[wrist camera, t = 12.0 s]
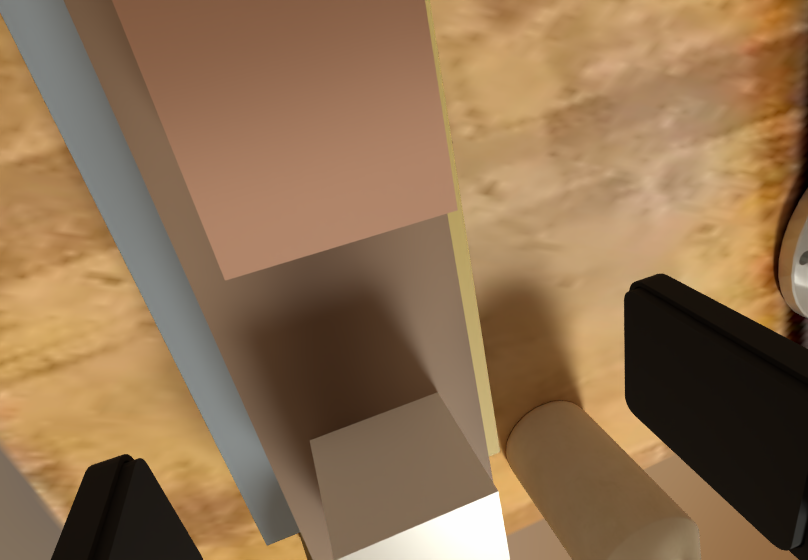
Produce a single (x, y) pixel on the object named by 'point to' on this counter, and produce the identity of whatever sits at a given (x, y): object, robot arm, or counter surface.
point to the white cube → (408, 489)
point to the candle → (595, 490)
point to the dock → (158, 262)
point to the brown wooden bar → (305, 306)
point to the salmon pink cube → (296, 119)
